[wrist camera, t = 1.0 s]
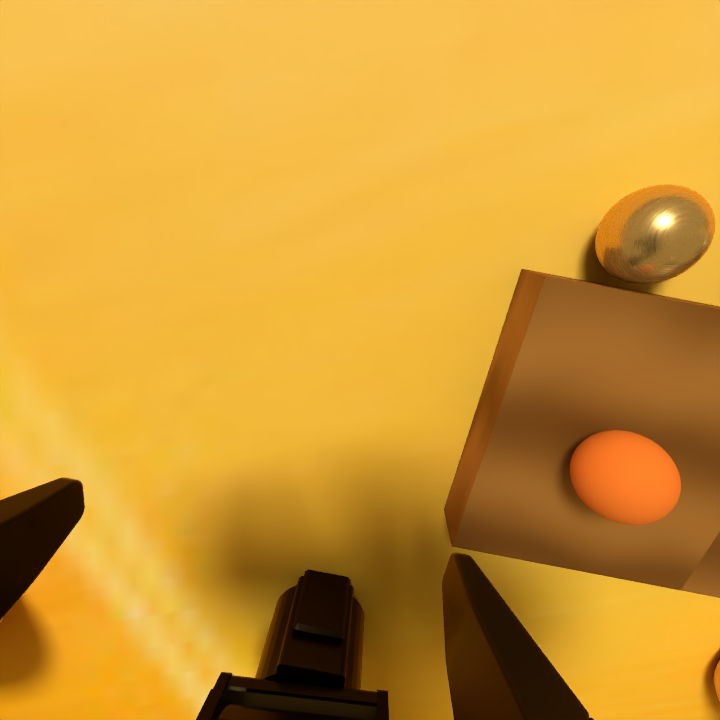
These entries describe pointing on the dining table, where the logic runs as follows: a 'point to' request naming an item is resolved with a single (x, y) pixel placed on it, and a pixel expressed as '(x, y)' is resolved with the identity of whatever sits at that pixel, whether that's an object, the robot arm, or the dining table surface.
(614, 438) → the ball
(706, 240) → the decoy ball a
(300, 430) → the dining table surface
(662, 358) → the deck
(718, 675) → the vodka
